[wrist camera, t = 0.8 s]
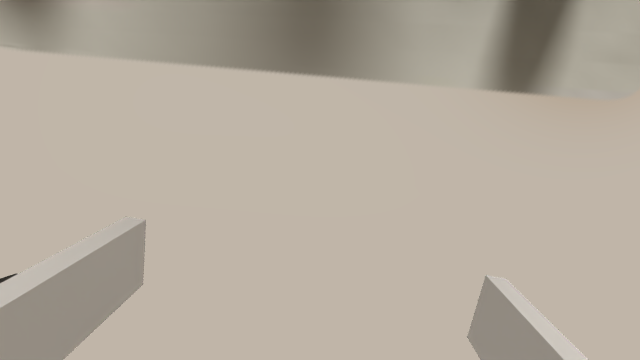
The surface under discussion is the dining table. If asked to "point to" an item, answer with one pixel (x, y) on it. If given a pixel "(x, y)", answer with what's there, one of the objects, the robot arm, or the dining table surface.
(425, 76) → the dining table surface
